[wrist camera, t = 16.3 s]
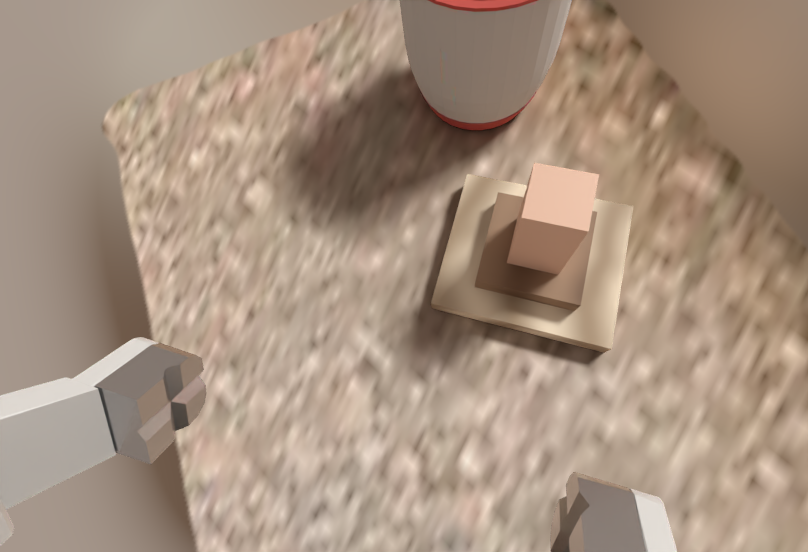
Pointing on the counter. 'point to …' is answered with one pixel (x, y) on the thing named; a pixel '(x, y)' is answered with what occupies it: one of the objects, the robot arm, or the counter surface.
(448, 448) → the counter surface
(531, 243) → the pillar block
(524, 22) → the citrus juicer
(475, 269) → the stepped pedestal
